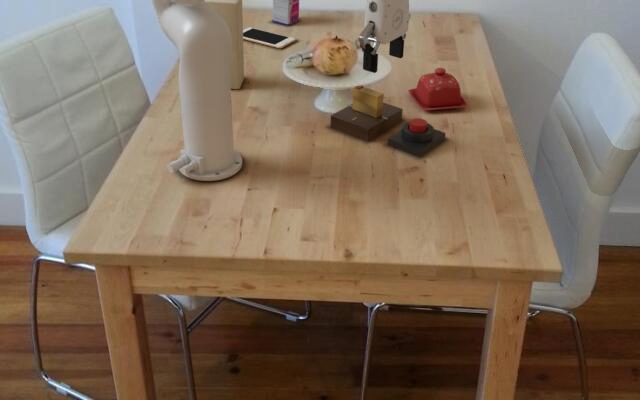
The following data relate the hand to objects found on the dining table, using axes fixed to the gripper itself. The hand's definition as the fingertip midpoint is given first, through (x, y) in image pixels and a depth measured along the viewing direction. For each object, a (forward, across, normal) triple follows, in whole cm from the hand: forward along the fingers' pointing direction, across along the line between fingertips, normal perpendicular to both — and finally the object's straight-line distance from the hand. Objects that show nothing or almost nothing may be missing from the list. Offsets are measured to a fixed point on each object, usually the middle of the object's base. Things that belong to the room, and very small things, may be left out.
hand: (383, 63), depth 154 cm
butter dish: (+16, +19, -3) cm, 25 cm away
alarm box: (+15, -1, -10) cm, 18 cm away
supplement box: (+15, +39, +60) cm, 73 cm away
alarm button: (+12, -1, -10) cm, 15 cm away
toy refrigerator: (+15, -4, +42) cm, 45 cm away
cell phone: (+15, +24, +55) cm, 62 cm away
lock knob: (+12, 0, +3) cm, 12 cm away
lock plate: (+15, 0, +3) cm, 15 cm away
